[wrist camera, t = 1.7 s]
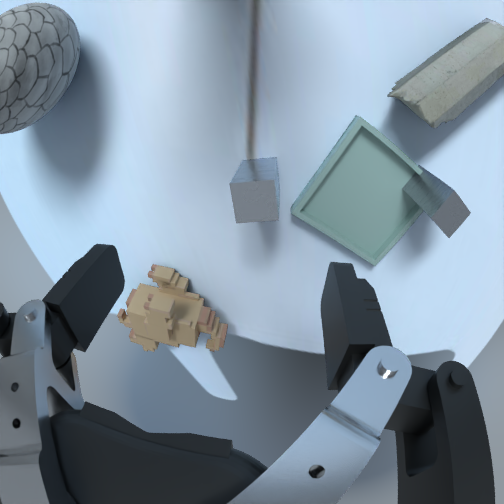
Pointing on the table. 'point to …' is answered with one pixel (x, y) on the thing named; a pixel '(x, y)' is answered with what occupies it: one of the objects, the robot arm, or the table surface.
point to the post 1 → (256, 191)
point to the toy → (170, 314)
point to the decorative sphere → (34, 62)
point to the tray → (361, 193)
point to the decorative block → (454, 75)
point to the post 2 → (437, 201)
